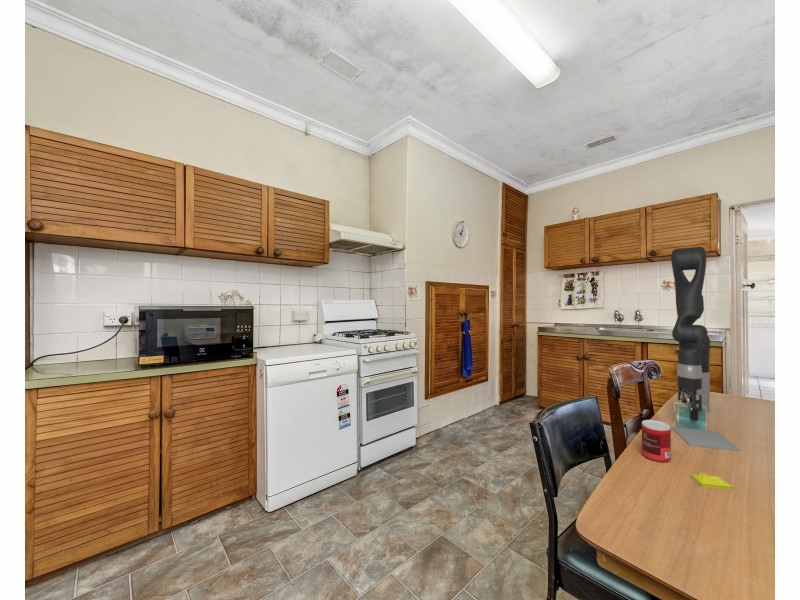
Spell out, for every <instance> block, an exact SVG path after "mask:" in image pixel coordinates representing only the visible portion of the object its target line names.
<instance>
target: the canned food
mask: <svg viewBox="0 0 800 600" xmlns="http://www.w3.org/2000/svg"><path fill="white" fill-rule="evenodd" d="M671 430H672V428H671V425H670V424H669V423H666V422H664V421H660V420H654V419H645V420H642V421H641V455H642V456H643V457H644V458H645V459H646V460H648V461H652V462H654V461H655V462H656V463H660V464H662V463H665V462H666V463H669V462H670V461H671V456H672V455H671V449H672V444H671V443H672V440H671V439H672V438H671V437H672V432H671Z"/></svg>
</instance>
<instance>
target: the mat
mask: <svg viewBox="0 0 800 600" xmlns="http://www.w3.org/2000/svg"><path fill="white" fill-rule="evenodd" d="M670 428H671V430H672V431H674V432H675V433H676V434H677V435H678V436H679V437H680V438H681V439H682V440H683V441H685V442H686V443H687V445H689V446H690V447H700V448H701V447H702V448H709V449H719V450H720V449H721V450H729V451H742V449H741V448H740V447H738V445H735V443H733V442H731V440H729V439H728V438H726V437H725V436H724V435H722V434H721V433H719V432H718V431H716V430H712V429H711V430H709V429H706V430H701V429H689V428H678V427H676V426H670Z"/></svg>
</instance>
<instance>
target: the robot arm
mask: <svg viewBox="0 0 800 600" xmlns="http://www.w3.org/2000/svg"><path fill="white" fill-rule="evenodd" d="M670 255H671V256H670V261H671V269H672V273H673V279H674V280H673V281H674V287H675V288H674V290H675V292H674V293H675V306H676V308H675V309H676V314H677V318H676V322H675V324H674V326H673V329H672V332H671V335H672V338H673V340H674V341H675V342H678V351H677V368H676V375H677V376H676V385H677V389H678V390H677V400H678V401H679V403H687V404H688V405H689V406H690V419H691V420H693V421H698V411H702V405H703V406H705V407H706V412H710V397H711V395H710V389H711V388H710V386H711V385H710V382H711V381H710V374H711V373H710V372H711V371H710V370H711V369H710V356H711V355H710V354H711V340H710V337H709V336H708V333H709V331H708V328H706V327H705V325H701V324H695V322H696V321H697V320H699V319H700V318H701V317H702V315H703V313H704V311H705V304H704V295H703V294H702V293H703V289H704V283H705V276H706V268H707V251H706V249H705V248H704V247H703V246H691V247H681V248H675V249H674V248H673V250H672V252H671V254H670ZM694 270H695V271H694ZM684 271H694V275H693V277H692V279H691V280H690V281H689V279H688V278H687V277H686V274H685V273H684ZM698 405H699V406H698ZM695 406H696V407H695Z"/></svg>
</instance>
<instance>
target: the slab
mask: <svg viewBox="0 0 800 600" xmlns="http://www.w3.org/2000/svg"><path fill="white" fill-rule="evenodd" d="M698 406H699V405H698ZM695 407H696V406H695ZM673 425H674V427H678V428H689V429H701V430H707V411H706V407H705V406H703V405H702V411H698V421H693V420H691V419H690V406H689V405H688V404H687V403H680V402H679V401H678V402H676V401H674V402H673Z"/></svg>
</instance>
